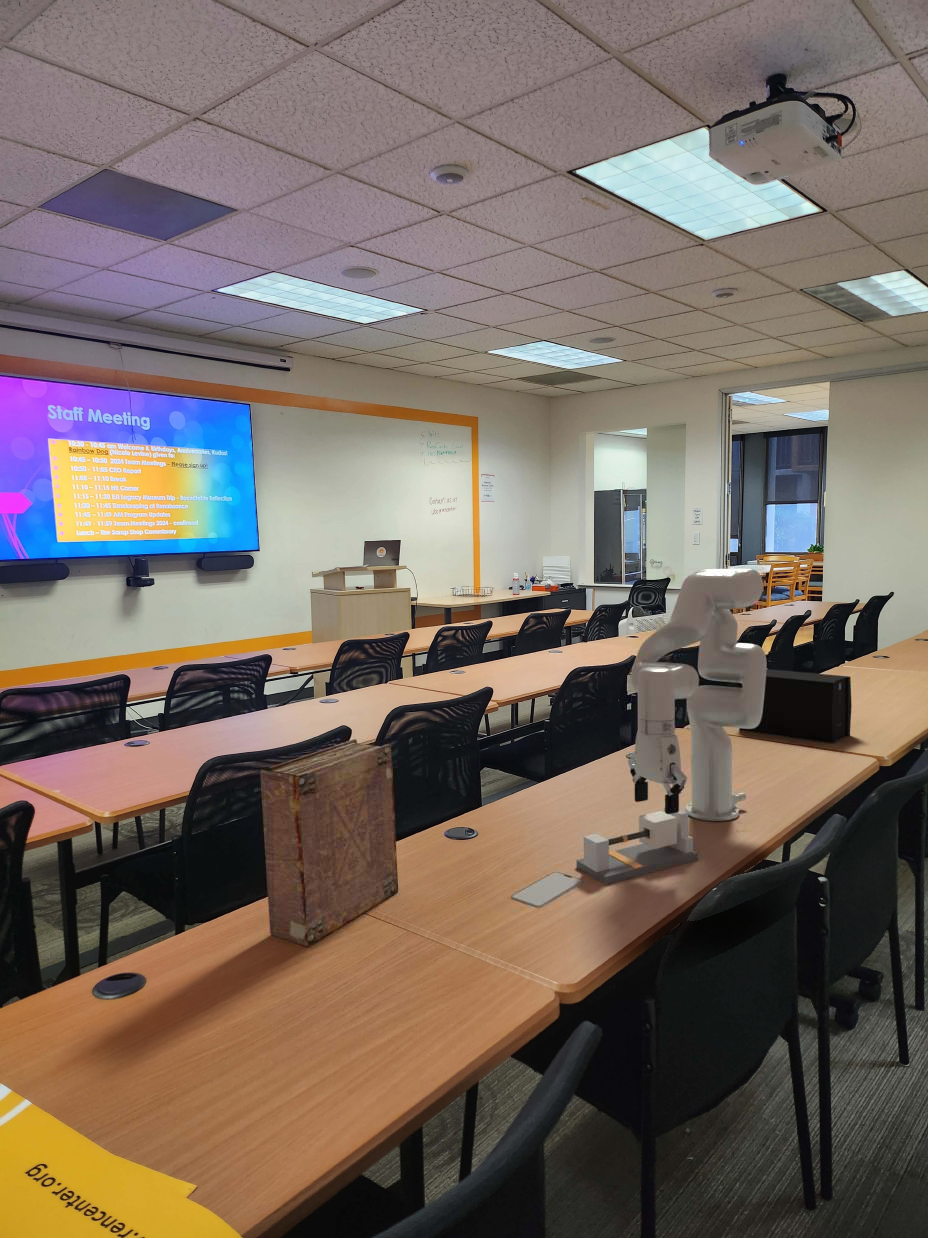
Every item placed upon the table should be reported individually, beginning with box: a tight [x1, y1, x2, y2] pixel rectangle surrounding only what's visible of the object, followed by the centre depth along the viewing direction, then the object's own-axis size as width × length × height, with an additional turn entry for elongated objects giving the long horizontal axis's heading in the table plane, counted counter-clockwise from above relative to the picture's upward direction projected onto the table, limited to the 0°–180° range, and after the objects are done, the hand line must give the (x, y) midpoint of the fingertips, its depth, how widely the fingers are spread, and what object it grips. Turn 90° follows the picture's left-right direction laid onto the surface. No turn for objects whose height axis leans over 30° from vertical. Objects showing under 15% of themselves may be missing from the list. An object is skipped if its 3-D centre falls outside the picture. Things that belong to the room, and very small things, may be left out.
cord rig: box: [576, 807, 699, 885], centre depth 168 cm, size 24×10×10 cm, turn 117°
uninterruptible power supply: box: [737, 668, 853, 745], centre depth 275 cm, size 16×34×20 cm, turn 44°
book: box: [259, 738, 399, 948], centre depth 149 cm, size 25×9×30 cm, turn 147°
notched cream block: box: [638, 810, 677, 849], centre depth 170 cm, size 6×5×6 cm
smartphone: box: [510, 871, 584, 908], centre depth 157 cm, size 7×1×15 cm
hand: (656, 806), depth 169 cm, fingers open, 9 cm apart
